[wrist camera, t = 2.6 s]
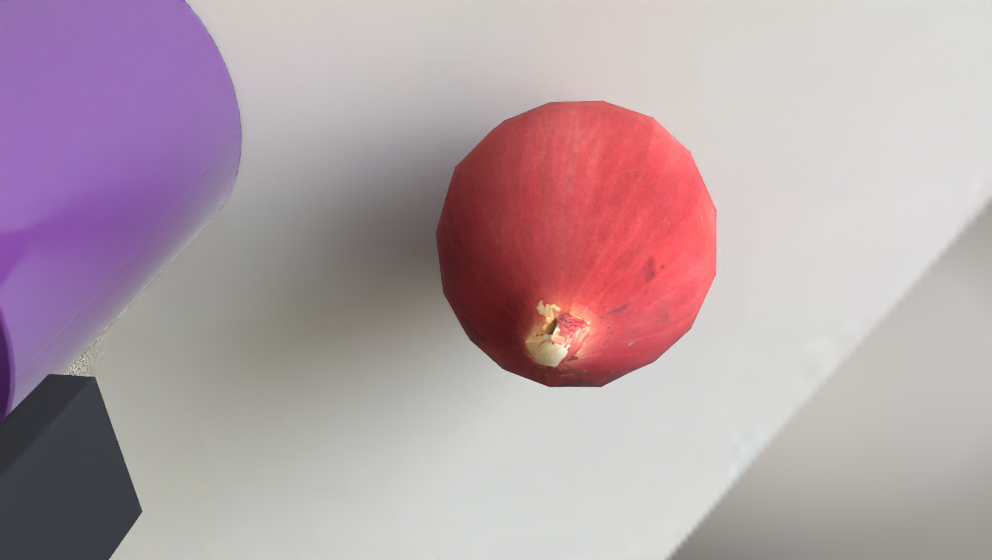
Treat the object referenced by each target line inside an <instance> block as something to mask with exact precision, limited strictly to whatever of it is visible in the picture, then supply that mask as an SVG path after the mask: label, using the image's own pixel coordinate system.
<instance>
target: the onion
mask: <svg viewBox="0 0 992 560" xmlns="http://www.w3.org/2000/svg"><path fill="white" fill-rule="evenodd" d="M436 238H437V248H438V256H439V263H440V271H441V279H442V286H443V293H444V295H445V297H446V299H447V301H448V302H449V304H450V306H451V308H452V310H453V311H454V313H455V315H456V317H457V319H458V320H459V322H460V324H461V326H462V328H463V329H464V331H465V333H466V334H467V336H468V337H469V339H470V340H471V341H472V342H473V343H474V344H475V345H476V346H478V347H479V348H480V349H481V350H482V351H483V352H484V353H485V354H487V355H488V356H489V357H490V358H491V359H492V360H493V361H494V362H496V363H497V364H498V365H499V366H500V367H501V368H502V369H504V370H506V371H509V372H511V373H514V374H517V375H519V376H522V377H525V378H527V379H530V380H533V381H535V382H538V383H540V384H543V385H546V386H548V387H602V386H604V385H606V384H608V383H610V382H612V381H614V380H616V379H618V378H620V377H622V376H624V375H626V374H628V373H630V372H632V371H634V370H636V369H639V368H641V367H643V366H646V365H648V364H650V363H653V362H654V361H656V360H657V359H658V358H659V357H660V356H661V355H662V354H663V353H664V352H665V351H667V350H668V349H669V348H670V347H671V346H672V345H673V344H674V343H675V342H677V341H678V340H679V339H680V338H681V337H682V336H683V335H684V334H685V333H687V332H688V331H689V330H690V329H691V327H692V325H693V323H694V320H695V318H696V316H697V314H698V312H699V310H700V308H701V305H702V303H703V301H704V299H705V297H706V295H707V292H708V290H709V288H710V286H711V284H712V282H713V280H714V277H715V275H716V209H715V206H714V204H713V202H712V200H711V197H710V195H709V193H708V191H707V188H706V186H705V184H704V182H703V180H702V177H701V175H700V173H699V171H698V168H697V166H696V164H695V162H694V160H693V157H692V155H691V153H690V151H688V150H687V149H686V148H685V147H684V146H683V145H682V144H681V143H680V142H679V141H678V140H677V139H675V138H674V137H673V136H672V135H671V134H670V133H669V132H668V131H667V130H666V129H665V128H663V127H662V126H661V125H660V124H659V123H658V122H657V121H656V120H655V119H654V118H652V117H649V116H646V115H643V114H640V113H637V112H634V111H631V110H628V109H625V108H622V107H619V106H616V105H613V104H610V103H607V102H604V101H581V102H550V103H547V104H545V105H542V106H540V107H537V108H535V109H532V110H530V111H527V112H525V113H522V114H520V115H517V116H515V117H512V118H510V119H507V120H505V121H503V122H502V123H501V124H500V125H498V126H497V127H496V128H495V129H493V130H492V131H491V132H490V133H489V134H488V135H487V136H486V137H485V138H484V139H483V140H482V141H481V142H480V143H479V144H478V145H477V146H476V147H475V148H474V149H473V150H472V151H471V152H470V153H469V154H468V155H467V156H466V157H465V158H464V159H463V160H462V161H461V162H460V163H459V164H458V165H457V166H456V167H455V170H454V173H453V176H452V179H451V182H450V185H449V189H448V192H447V196H446V199H445V202H444V206H443V209H442V213H441V216H440V220H439V223H438V227H437V230H436Z"/></svg>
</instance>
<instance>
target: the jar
mask: <svg viewBox="0 0 992 560" xmlns="http://www.w3.org/2000/svg"><path fill="white" fill-rule="evenodd" d="M240 155H241V124H240V114H239V108H238V104H237V99H236V95H235V91H234V87H233V84H232V81H231V79H230V76H229V73H228V70H227V67H226V65H225V63H224V61H223V59H222V57H221V55H220V53H219V51H218V49H217V47H216V44H215V43H214V41H213V39H212V38H211V36H210V35H209V33H208V31H207V30H206V28H205V27H204V25H203V23H202V22H201V20H200V19H199V18H198V17H197V15H196V14H195V13H194V12H193V10H192V9H191V8H190V6H189V5H188V4H187V3H186V1H185V0H0V423H1V422H2V421H3V420H4V419H5V418H6V417H7V416H8V415H9V414H10V413H11V412H12V410H13V409H14V408H15V407H16V406H17V405H18V404H19V403H20V402H21V401H22V400H23V399H24V398H25V397H26V396H27V395H28V394H29V393H30V392H31V391H32V390H33V389H34V388H35V387H36V386H37V385H38V384H39V383H40V382H41V381H42V380H43V379H44V378H45V377H46V376H47V375H48V374H58V375H63V374H64V373H65V372H66V371H67V370H68V369H69V368H70V367H71V366H72V365H73V364H74V363H75V362H76V361H77V359H78V358H79V357H80V356H81V355H82V354H83V353H84V352H85V351H86V350H87V349H88V348H89V347H90V346H91V345H92V344H93V343H94V342H95V341H96V340H97V339H98V338H99V337H100V336H101V335H102V334H103V333H104V332H105V331H106V330H107V328H108V327H109V326H110V325H111V324H112V323H113V322H114V321H115V320H116V319H117V318H118V317H119V316H120V315H121V314H122V313H123V312H124V311H125V310H126V309H127V308H128V307H129V306H130V305H131V304H132V303H133V302H134V301H135V300H136V299H137V297H138V296H139V295H140V294H141V293H142V292H143V291H144V290H145V289H146V288H147V287H148V286H149V285H150V284H151V283H152V282H153V281H154V280H155V279H156V278H157V277H158V276H159V275H160V274H161V273H162V272H163V271H164V270H165V269H166V268H167V266H168V265H169V264H170V263H171V262H172V261H173V260H174V259H175V258H176V257H177V256H178V255H179V254H180V253H181V252H182V251H183V250H184V249H185V248H186V247H187V246H188V245H189V244H190V243H191V242H192V241H193V240H194V239H195V238H196V237H197V235H198V234H199V233H200V232H201V231H202V230H203V229H204V228H205V227H206V226H207V225H208V224H209V223H210V222H211V221H212V220H213V219H214V217H215V216H216V215H217V214H218V212H219V211H220V210H221V208H222V207H223V205H224V204H225V202H226V200H227V198H228V196H229V194H230V192H231V190H232V187H233V184H234V182H235V179H236V176H237V172H238V167H239V161H240Z"/></svg>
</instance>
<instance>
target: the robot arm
mask: <svg viewBox="0 0 992 560" xmlns="http://www.w3.org/2000/svg"><path fill="white" fill-rule="evenodd" d="M141 513H142V509H141V506H140V503H139V501H138V498H137V495H136V492H135V489H134V486H133V484H132V481H131V478H130V475H129V472H128V469H127V467H126V464H125V461H124V458H123V455H122V452H121V450H120V447H119V444H118V441H117V438H116V435H115V433H114V430H113V427H112V424H111V421H110V418H109V416H108V413H107V410H106V407H105V404H104V401H103V399H102V396H101V393H100V390H99V387H98V384H97V382H96V379H95V377H85V376H72V375H58V374H48V375H47V376H46V377H45V378H44V379H43V380H42V381H41V382H40V383H39V384H38V385H37V386H36V387H35V388H34V389H33V390H32V391H31V392H30V393H29V394H28V395H27V396H26V397H25V398H24V399H23V400H22V401H21V402H20V403H19V404H18V405H17V406H16V407H15V408H14V409H13V410H12V412H11V413H10V414H9V415H8V416H7V417H6V418H5V419H4V420H3V421H2V422H1V423H0V560H109V559H110V557H111V556H112V554H113V553H114V551H115V550H116V549H117V547H118V546H119V544H120V543H121V541H122V540H123V539H124V537H125V536H126V534H127V533H128V531H129V530H130V529H131V527H132V526H133V524H134V523H135V521H136V520H137V519H138V517H139V516H140V514H141Z"/></svg>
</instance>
